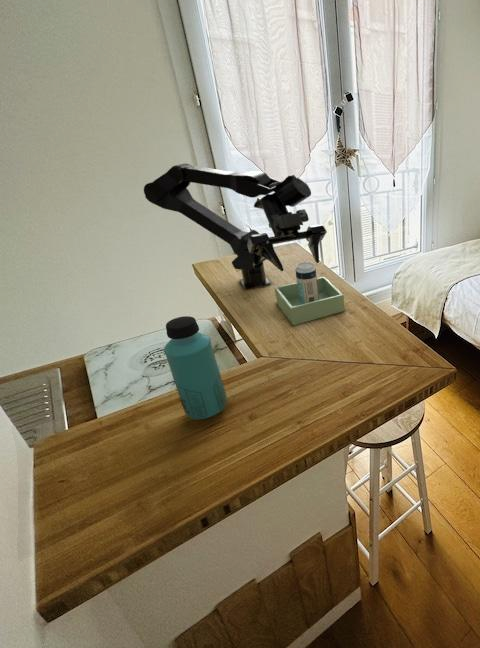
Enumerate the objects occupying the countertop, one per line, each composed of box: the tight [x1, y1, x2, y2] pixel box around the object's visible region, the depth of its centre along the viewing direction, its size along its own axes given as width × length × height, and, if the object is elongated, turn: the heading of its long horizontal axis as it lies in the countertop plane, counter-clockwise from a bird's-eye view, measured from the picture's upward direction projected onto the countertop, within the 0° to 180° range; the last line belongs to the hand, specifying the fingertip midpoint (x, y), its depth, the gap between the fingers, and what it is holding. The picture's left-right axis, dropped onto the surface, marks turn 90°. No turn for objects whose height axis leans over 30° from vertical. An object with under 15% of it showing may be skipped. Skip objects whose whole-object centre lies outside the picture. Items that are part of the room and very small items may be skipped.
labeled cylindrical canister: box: [294, 262, 319, 305], centre depth 105 cm, size 5×5×12 cm
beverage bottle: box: [163, 315, 228, 420], centre depth 68 cm, size 6×7×20 cm
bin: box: [273, 276, 345, 326], centre depth 107 cm, size 13×13×5 cm
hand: (300, 266), depth 104 cm, fingers open, 9 cm apart
